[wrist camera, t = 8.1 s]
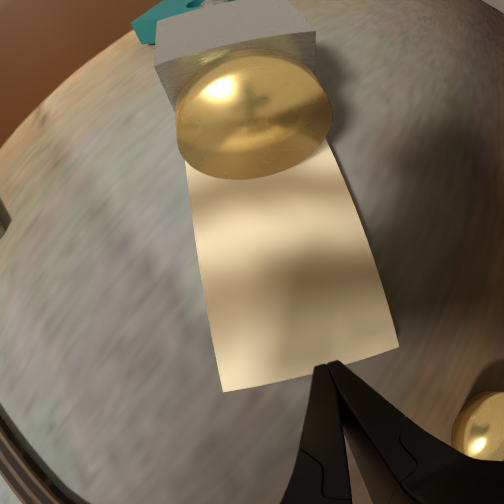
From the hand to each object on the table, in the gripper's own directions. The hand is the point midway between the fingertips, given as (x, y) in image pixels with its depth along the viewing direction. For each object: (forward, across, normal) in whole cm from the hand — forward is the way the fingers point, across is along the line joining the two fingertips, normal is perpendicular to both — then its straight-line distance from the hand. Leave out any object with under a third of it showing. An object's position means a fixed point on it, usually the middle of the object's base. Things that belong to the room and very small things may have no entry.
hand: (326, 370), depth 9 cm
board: (+13, 0, -2) cm, 13 cm away
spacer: (0, -10, +11) cm, 15 cm away
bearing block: (+17, 0, -8) cm, 18 cm away
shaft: (+18, 0, -10) cm, 20 cm away
